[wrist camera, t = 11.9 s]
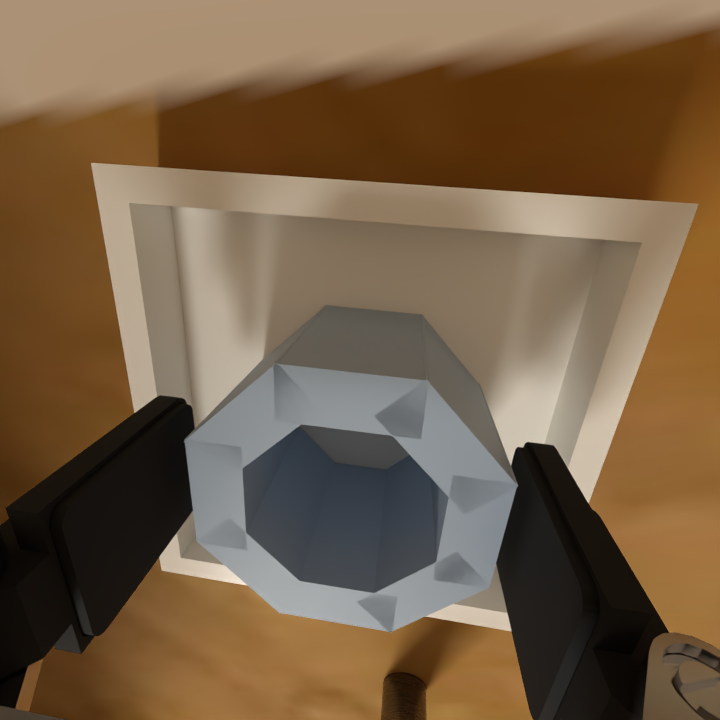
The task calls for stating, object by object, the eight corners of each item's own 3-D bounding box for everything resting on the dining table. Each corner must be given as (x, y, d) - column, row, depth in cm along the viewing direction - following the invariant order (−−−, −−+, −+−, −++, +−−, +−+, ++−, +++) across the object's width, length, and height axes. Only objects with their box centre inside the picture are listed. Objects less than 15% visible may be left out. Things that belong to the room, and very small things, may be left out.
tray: (520, 569, 15) (539, 636, 13) (197, 518, 16) (161, 570, 14) (633, 204, 10) (698, 203, 8) (157, 171, 11) (91, 162, 9)
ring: (493, 320, 11) (543, 392, 7) (449, 532, 14) (466, 675, 9) (260, 298, 11) (172, 350, 7) (266, 505, 14) (206, 628, 10)
